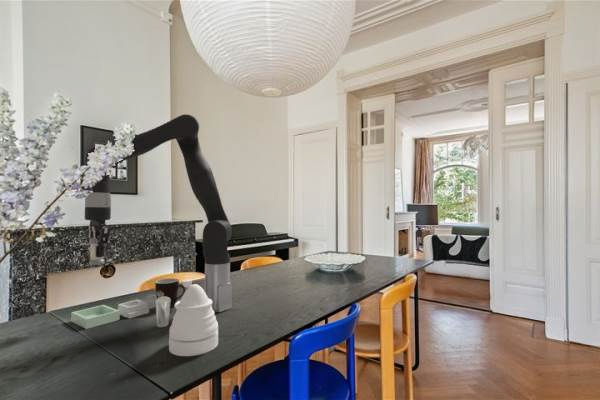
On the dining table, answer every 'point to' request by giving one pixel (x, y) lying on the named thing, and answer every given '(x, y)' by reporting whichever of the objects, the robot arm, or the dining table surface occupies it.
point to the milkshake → (162, 311)
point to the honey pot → (193, 323)
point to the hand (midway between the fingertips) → (96, 256)
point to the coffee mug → (168, 289)
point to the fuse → (94, 254)
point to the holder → (133, 308)
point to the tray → (95, 316)
